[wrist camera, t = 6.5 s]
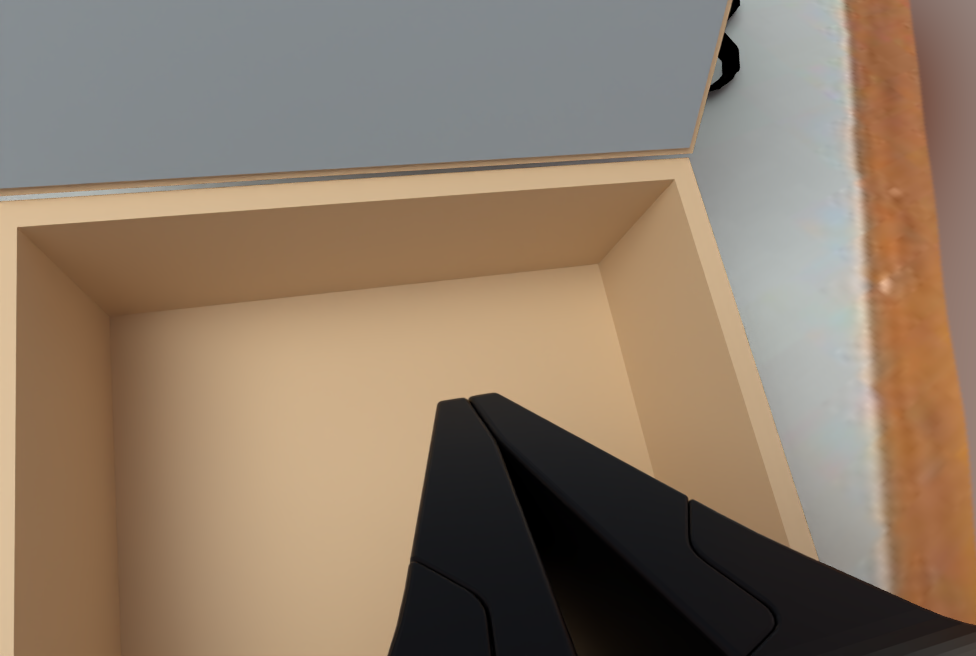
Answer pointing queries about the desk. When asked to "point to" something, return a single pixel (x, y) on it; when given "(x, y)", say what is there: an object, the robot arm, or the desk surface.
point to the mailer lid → (341, 86)
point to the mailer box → (338, 389)
